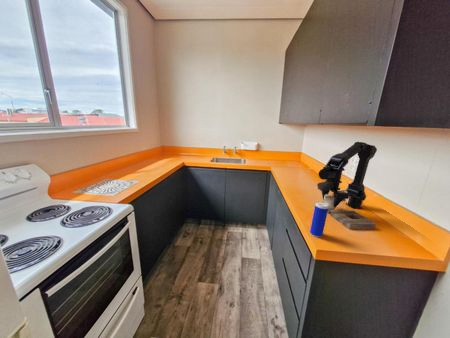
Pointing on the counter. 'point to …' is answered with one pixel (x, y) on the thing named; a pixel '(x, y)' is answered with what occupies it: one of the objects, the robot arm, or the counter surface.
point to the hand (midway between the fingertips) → (329, 203)
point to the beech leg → (329, 202)
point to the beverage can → (319, 219)
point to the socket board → (352, 220)
